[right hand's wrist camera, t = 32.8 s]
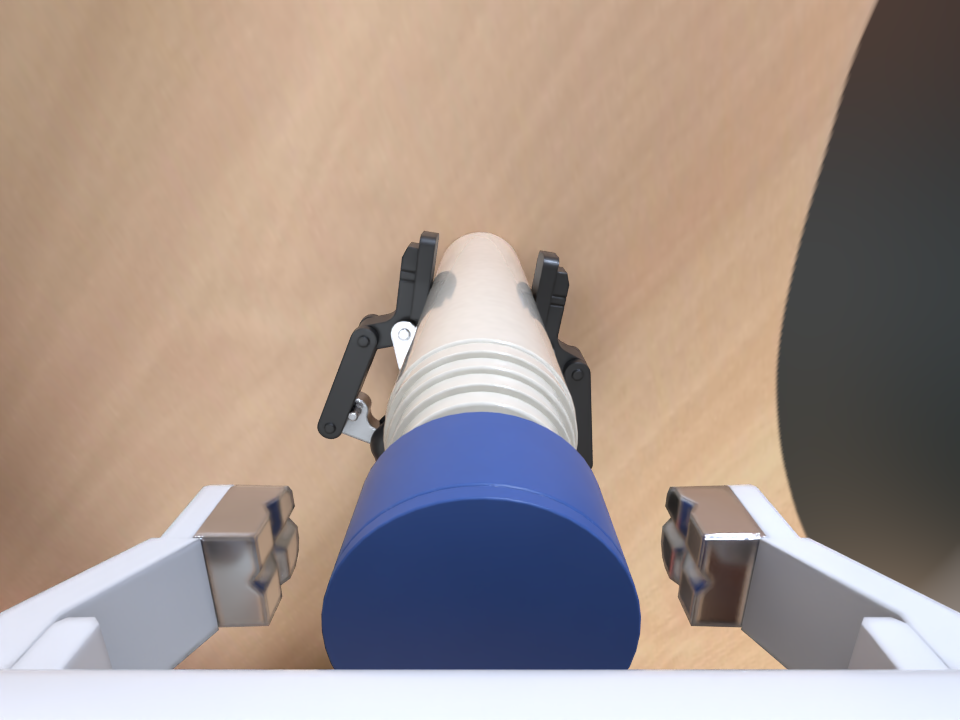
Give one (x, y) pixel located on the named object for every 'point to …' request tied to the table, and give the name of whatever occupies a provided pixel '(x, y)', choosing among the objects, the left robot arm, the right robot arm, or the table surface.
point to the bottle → (480, 347)
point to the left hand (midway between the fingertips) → (489, 245)
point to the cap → (481, 557)
